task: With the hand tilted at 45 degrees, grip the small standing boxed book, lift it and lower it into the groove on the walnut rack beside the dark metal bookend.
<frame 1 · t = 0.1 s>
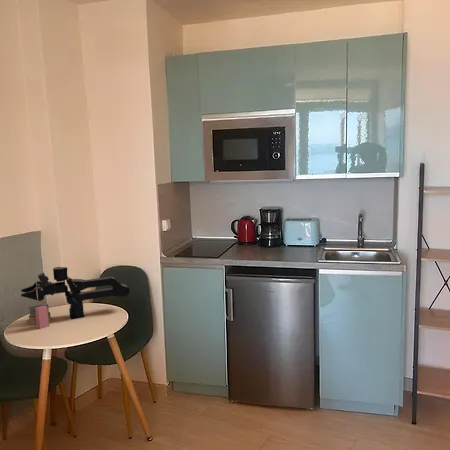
hand: (21, 292, 230), 16 cm above the table, tool horizontal, fingers open, 9 cm apart
book: (43, 326, 228), on the table
book rack: (40, 322, 235), on the table
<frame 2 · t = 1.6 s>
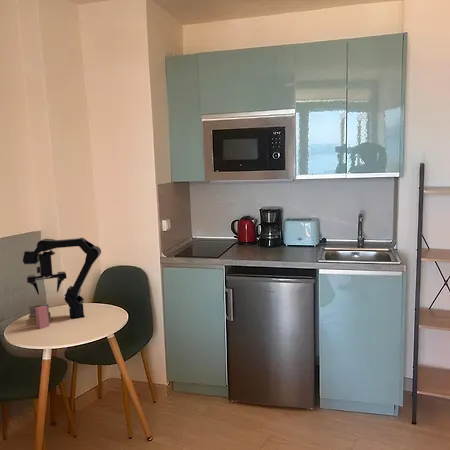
hand: (48, 293, 240), 13 cm above the table, tool pointing down, fingers open, 9 cm apart
nothing on the table moved.
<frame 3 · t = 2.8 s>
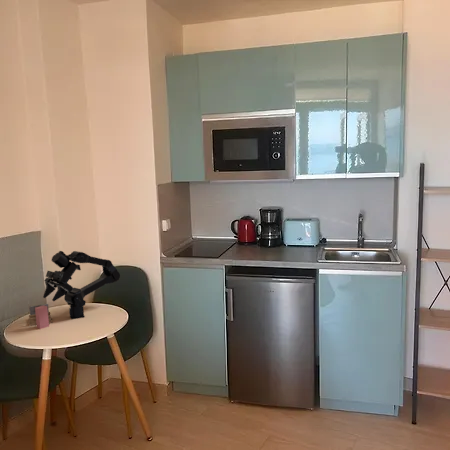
hand: (48, 299, 230), 13 cm above the table, tool tilted 45°, fingers open, 9 cm apart
nothing on the table moved.
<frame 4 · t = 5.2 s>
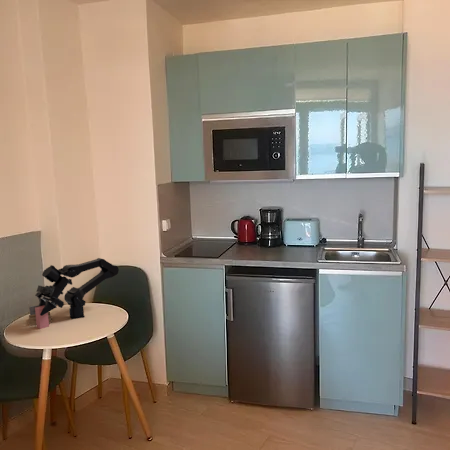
hand: (38, 314, 226), 7 cm above the table, tool tilted 45°, fingers closed on book, 3 cm apart
book: (42, 326, 228), on the table, touching gripper
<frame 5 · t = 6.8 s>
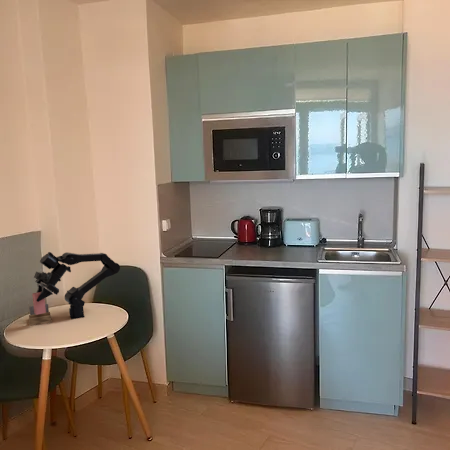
hand: (35, 300, 228), 13 cm above the table, tool tilted 45°, fingers closed on book, 3 cm apart
book: (40, 312, 230), point 6 cm above the table, touching gripper
when the fingers open (9 cm above the table, at t = 8.4 s): book drops 1 cm, resting on book rack.
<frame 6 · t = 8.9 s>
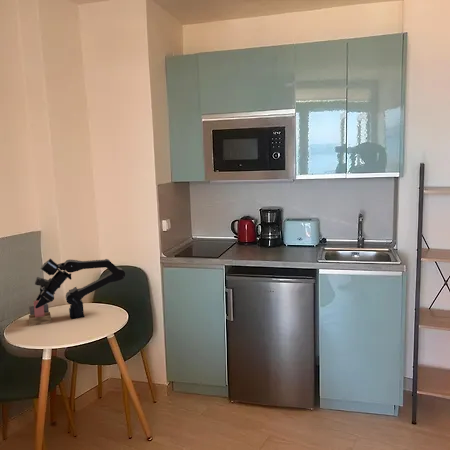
hand: (35, 305, 234), 9 cm above the table, tool tilted 45°, fingers open, 9 cm apart
book: (40, 320, 235), point 1 cm above the table, touching book rack
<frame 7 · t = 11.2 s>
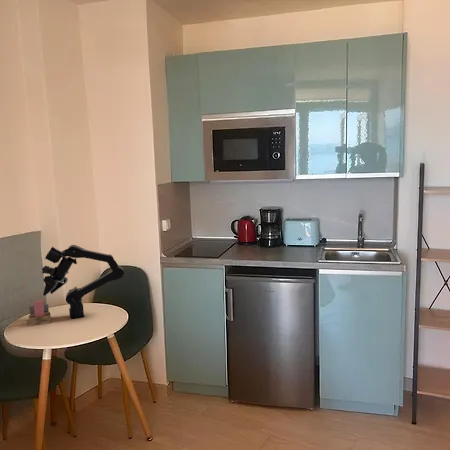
hand: (47, 294, 237), 13 cm above the table, tool tilted 35°, fingers open, 9 cm apart
nothing on the table moved.
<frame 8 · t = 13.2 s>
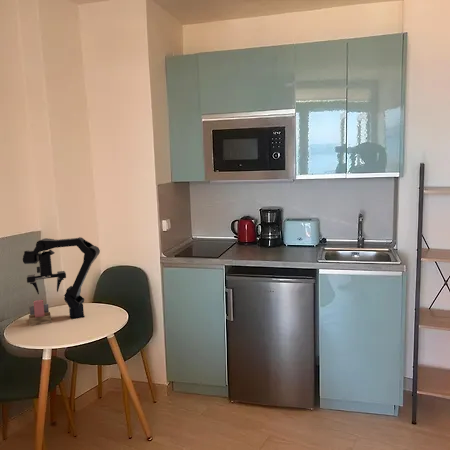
hand: (48, 292, 241), 13 cm above the table, tool pointing down, fingers open, 9 cm apart
nothing on the table moved.
at the end: book 0.0 cm off-centre on the book rack, point 1.0 cm above the book rack's base; book tilted 0°; the gripper is holding nothing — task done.
